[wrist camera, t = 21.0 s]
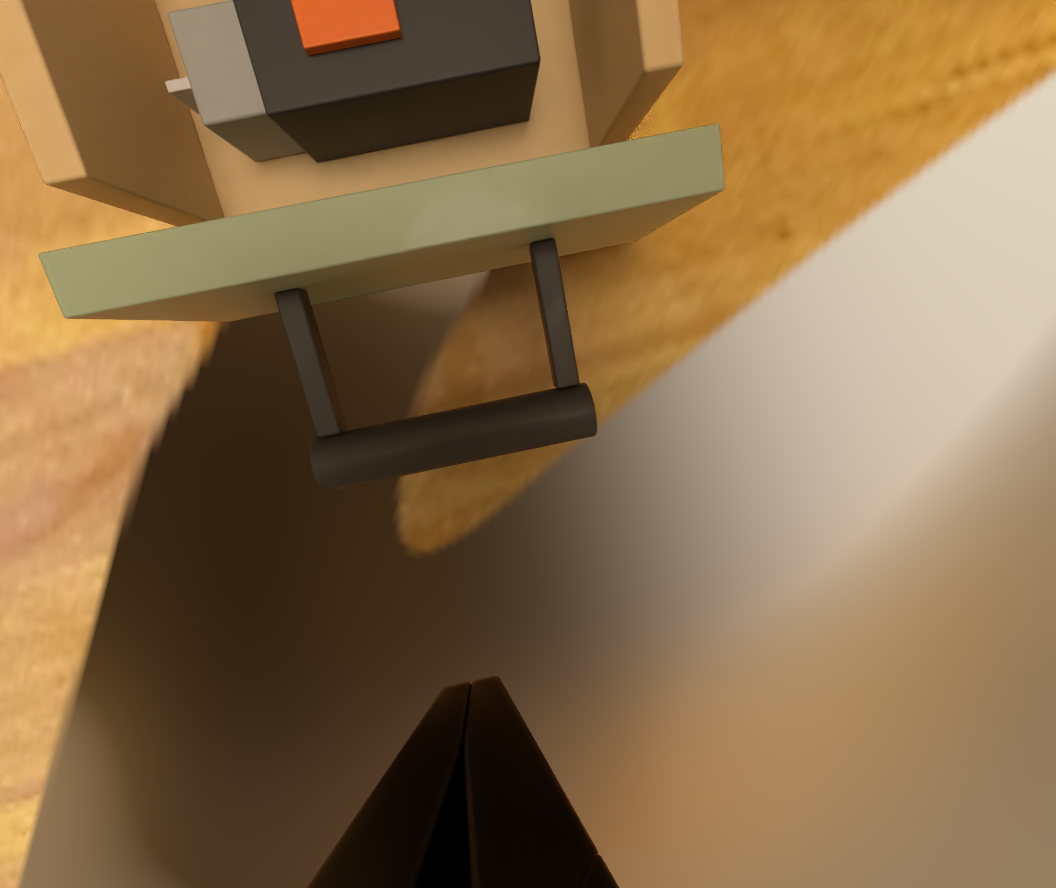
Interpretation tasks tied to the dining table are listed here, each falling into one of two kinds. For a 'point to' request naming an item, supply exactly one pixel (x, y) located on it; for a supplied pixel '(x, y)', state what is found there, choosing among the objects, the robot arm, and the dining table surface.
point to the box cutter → (354, 71)
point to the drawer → (355, 203)
